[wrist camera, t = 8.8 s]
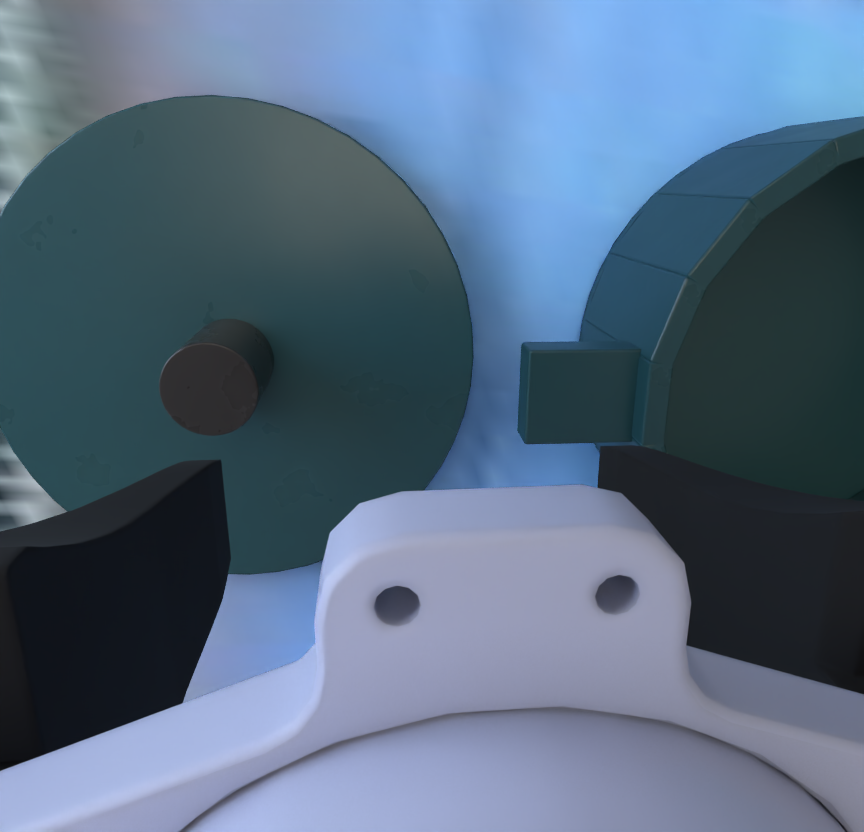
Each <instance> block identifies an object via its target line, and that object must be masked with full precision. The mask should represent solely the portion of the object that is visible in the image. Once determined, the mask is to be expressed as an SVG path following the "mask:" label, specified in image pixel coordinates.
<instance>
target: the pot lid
mask: <svg viewBox="0 0 864 832" xmlns="http://www.w3.org/2000/svg"><path fill="white" fill-rule="evenodd" d="M472 367H473V333H472V322H471V316H470V311H469V305H468V299H467V294H466V291H465V288H464V285H463V281H462V278H461V275H460V272H459V269H458V266H457V263H456V261H455V259H454V257H453V254H452V252H451V250H450V248H449V246H448V244H447V242H446V239H445V237H444V235H443V233H442V232H441V230H440V229H439V227H438V226H437V224H436V222H435V221H434V219H433V218H432V216H431V215H430V213H429V211H428V210H427V208H426V207H425V205H424V204H423V203H422V202H421V201H420V199H419V198H418V197H417V196H416V195H415V193H414V192H413V191H412V190H411V189H410V187H409V186H408V185H407V184H406V183H405V181H404V180H403V179H402V178H401V177H400V176H398V175H397V174H396V173H395V172H394V171H393V170H392V169H391V168H390V167H389V166H388V165H387V164H386V163H384V162H383V161H382V160H381V159H380V158H379V157H378V156H377V155H375V154H374V153H372V152H371V151H370V150H368V149H367V148H365V147H364V146H363V145H361V144H360V143H358V142H357V141H356V140H354V139H353V138H351V137H350V136H348V135H346V134H345V133H343V132H341V131H339V130H337V129H335V128H333V127H331V126H330V125H328V124H326V123H324V122H322V121H320V120H318V119H316V118H313V117H311V116H308V115H305V114H303V113H300V112H297V111H295V110H292V109H289V108H286V107H284V106H280V105H275V104H271V103H267V102H262V101H258V100H253V99H249V98H239V97H228V96H216V95H204V96H185V97H173V98H168V99H163V100H158V101H153V102H148V103H143V104H139V105H136V106H133V107H130V108H128V109H125V110H122V111H119V112H116V113H114V114H111V115H108V116H106V117H104V118H102V119H100V120H98V121H96V122H95V123H93V124H91V125H89V126H87V127H85V128H83V129H81V130H79V131H78V132H76V133H75V134H73V135H72V136H71V137H69V138H68V139H67V140H65V141H64V142H63V143H61V144H60V145H59V146H57V147H56V148H54V149H53V150H52V151H50V152H49V153H48V154H47V155H46V156H45V157H44V158H43V159H42V160H41V161H40V162H39V163H38V164H37V165H36V166H35V167H34V168H33V169H32V170H31V171H30V172H29V173H28V174H27V175H26V176H25V178H24V179H23V180H22V182H21V183H20V185H19V186H18V187H17V189H16V190H15V192H14V193H13V194H12V196H11V197H10V199H9V200H8V201H7V203H6V204H5V206H4V208H3V210H2V212H1V214H0V428H1V430H2V432H3V434H4V435H5V437H6V439H7V441H8V443H9V444H10V446H11V448H12V450H13V451H14V453H15V454H16V456H17V457H18V458H19V460H20V461H21V462H22V464H23V465H24V466H25V468H26V469H27V470H28V472H29V473H30V475H31V476H32V477H33V478H34V479H35V480H36V481H37V483H38V484H39V485H40V486H41V487H42V488H43V489H44V490H45V491H46V492H47V493H48V494H49V495H50V496H51V497H52V498H53V500H54V501H56V502H57V503H58V504H59V505H60V506H62V507H63V508H64V509H65V510H66V511H68V512H69V511H71V510H74V509H77V508H79V507H82V506H84V505H86V504H89V503H91V502H93V501H96V500H98V499H100V498H102V497H105V496H107V495H109V494H112V493H114V492H116V491H118V490H121V489H123V488H125V487H127V486H129V485H131V484H133V483H135V482H137V481H140V480H142V479H144V478H146V477H148V476H150V475H152V474H154V473H156V472H158V471H160V470H162V469H165V468H167V467H169V466H171V465H174V464H177V463H179V462H183V461H190V460H219V459H221V463H222V473H223V483H224V493H225V503H226V513H227V523H228V533H229V542H230V552H231V561H230V566H229V571H228V574H260V573H270V572H279V571H284V570H289V569H294V568H298V567H303V566H307V565H310V564H313V563H316V562H319V561H322V560H323V559H324V555H325V551H326V546H327V542H328V538H329V534H330V532H331V531H332V530H333V529H334V528H335V527H336V526H337V525H338V524H339V523H340V522H341V521H342V520H343V519H344V518H345V517H346V516H347V515H348V514H349V513H350V512H351V511H352V510H353V509H354V508H355V507H356V506H357V505H358V504H359V503H363V502H366V501H369V500H373V499H376V498H380V497H383V496H387V495H390V494H394V493H397V492H401V491H424V490H425V488H426V487H427V485H428V484H429V483H430V481H431V480H432V478H433V477H434V476H435V474H436V473H437V472H438V470H439V469H440V467H441V465H442V464H443V462H444V460H445V458H446V456H447V454H448V452H449V450H450V449H451V447H452V445H453V443H454V441H455V438H456V435H457V433H458V430H459V427H460V425H461V422H462V419H463V417H464V413H465V409H466V405H467V400H468V396H469V392H470V387H471V377H472Z"/></svg>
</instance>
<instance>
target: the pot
mask: <svg viewBox="0 0 864 832" xmlns="http://www.w3.org/2000/svg"><path fill="white" fill-rule="evenodd" d="M517 431H518V433H519V435H520V436H521V438H522V440H523V441H524V443H525V444H562V443H594V444H595V447H596V448H597V450H598V451H599V453H600V446H624V445H635V446H642V447H647V448H650V449H654V450H658V451H661V452H664V453H667V454H670V455H673V456H676V457H679V458H682V459H685V460H688V461H691V462H694V463H696V464H699V465H702V466H705V467H708V468H711V469H714V470H717V471H721V472H724V473H727V474H730V475H734V476H737V477H740V478H744V479H747V480H751V481H754V482H758V483H762V484H766V485H770V486H774V487H779V488H784V489H788V490H793V491H798V492H803V493H808V494H813V495H819V496H826V497H833V498H841V499H848V500H856V501H864V116H863V117H855V118H847V119H839V120H831V121H823V122H815V123H808V124H800V125H792V126H786V127H783V128H780V129H777V130H774V131H771V132H768V133H763V134H758V135H755V136H752V137H749V138H746V139H743V140H741V141H738V142H735V143H732V144H729V145H727V146H725V147H723V148H721V149H719V150H716V151H715V152H713V153H711V154H709V155H707V156H705V157H703V158H701V159H700V160H698V161H697V162H695V163H694V164H692V165H691V166H689V167H688V168H686V169H685V170H683V171H682V172H680V173H679V174H677V175H676V176H675V177H674V178H673V179H671V180H670V181H669V182H668V183H667V184H666V185H664V186H663V187H662V188H661V189H660V190H659V191H657V192H656V193H655V194H654V195H653V196H652V197H651V198H650V199H649V200H648V201H647V202H646V203H645V205H644V206H643V207H642V208H641V209H640V210H639V211H638V212H637V213H636V214H635V215H634V217H633V218H632V219H631V220H630V222H629V223H628V225H627V226H626V227H625V229H624V230H623V231H622V233H621V234H620V236H619V237H618V238H617V240H616V241H615V243H614V244H613V246H612V248H611V250H610V252H609V253H608V255H607V257H606V259H605V261H604V263H603V264H602V266H601V268H600V270H599V273H598V275H597V278H596V280H595V282H594V285H593V287H592V290H591V292H590V295H589V298H588V302H587V305H586V309H585V313H584V317H583V320H582V325H581V332H580V340H579V342H524V343H522V345H521V364H520V386H519V407H518V428H517Z"/></svg>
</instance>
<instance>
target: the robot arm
mask: <svg viewBox="0 0 864 832" xmlns="http://www.w3.org/2000/svg"><path fill="white" fill-rule="evenodd" d="M230 561H231V552H230V542H229V533H228V523H227V513H226V503H225V493H224V483H223V473H222V463H221V459H219V460H190V461H183V462H179V463H177V464H174V465H171V466H169V467H167V468H165V469H162V470H160V471H158V472H156V473H154V474H152V475H150V476H148V477H146V478H144V479H142V480H140V481H137V482H135V483H133V484H131V485H129V486H127V487H125V488H123V489H121V490H118V491H116V492H114V493H112V494H109V495H107V496H105V497H102V498H100V499H98V500H96V501H93V502H91V503H89V504H86V505H84V506H82V507H79V508H77V509H74V510H71V511H69V512H66V513H63V514H60V515H57V516H54V517H51V518H48V519H45V520H42V521H39V522H36V523H32V524H29V525H25V526H22V527H17V528H13V529H9V530H5V531H1V532H0V832H864V501H856V500H848V499H841V498H833V497H826V496H819V495H813V494H808V493H803V492H798V491H793V490H788V489H784V488H779V487H774V486H770V485H766V484H762V483H758V482H754V481H751V480H747V479H744V478H740V477H737V476H734V475H730V474H727V473H724V472H721V471H717V470H714V469H711V468H708V467H705V466H702V465H699V464H696V463H694V462H691V461H688V460H685V459H682V458H679V457H676V456H673V455H670V454H667V453H664V452H661V451H658V450H654V449H650V448H647V447H642V446H635V445H624V446H600V461H599V475H598V488H596V487H591V486H587V485H582V484H580V485H554V486H528V487H503V488H477V489H451V490H425V491H401V492H397V493H394V494H390V495H387V496H383V497H380V498H376V499H373V500H369V501H366V502H363V503H359V504H358V505H357V506H356V507H355V508H354V509H353V510H352V511H351V512H350V513H349V514H348V515H347V516H346V517H345V518H344V519H343V520H342V521H341V522H340V523H339V524H338V525H337V526H336V527H335V528H334V529H333V530H332V531H331V532H330V534H329V538H328V542H327V546H326V551H325V555H324V559H323V563H322V567H321V572H320V580H319V589H318V597H317V605H316V613H315V621H314V624H315V639H316V643H315V644H314V645H313V646H312V647H311V648H310V649H309V651H308V652H307V653H306V654H305V655H304V656H303V657H302V658H301V659H299V660H297V661H295V662H292V663H290V664H287V665H284V666H281V667H279V668H276V669H273V670H271V671H268V672H265V673H263V674H260V675H257V676H255V677H252V678H249V679H247V680H244V681H241V682H238V683H236V684H233V685H230V686H228V687H225V688H222V689H220V690H217V691H214V692H212V693H209V694H206V695H204V696H201V697H198V698H195V699H193V700H190V701H187V702H185V703H183V700H184V697H185V694H186V691H187V688H188V686H189V683H190V681H191V678H192V676H193V673H194V671H195V668H196V666H197V663H198V661H199V658H200V656H201V653H202V651H203V648H204V646H205V643H206V641H207V638H208V636H209V633H210V631H211V628H212V625H213V623H214V620H215V618H216V615H217V612H218V610H219V607H220V604H221V602H222V599H223V594H224V590H225V586H226V581H227V576H228V571H229V566H230Z"/></svg>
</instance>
